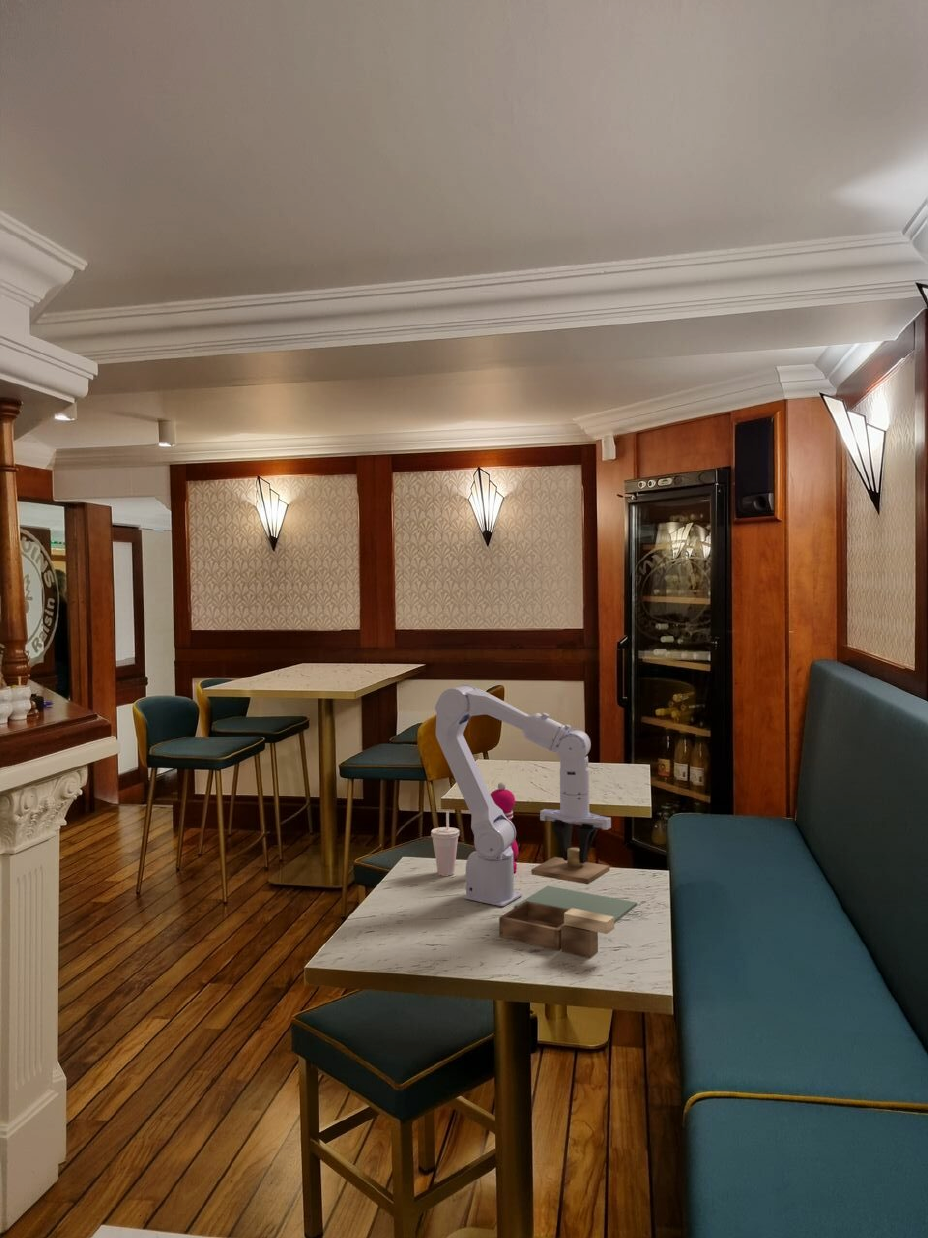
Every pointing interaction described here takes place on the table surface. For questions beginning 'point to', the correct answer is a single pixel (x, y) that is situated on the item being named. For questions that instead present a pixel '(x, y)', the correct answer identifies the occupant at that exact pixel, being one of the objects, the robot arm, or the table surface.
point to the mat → (581, 901)
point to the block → (589, 920)
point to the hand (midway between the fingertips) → (575, 860)
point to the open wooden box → (547, 929)
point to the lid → (570, 869)
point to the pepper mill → (506, 811)
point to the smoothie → (445, 847)
